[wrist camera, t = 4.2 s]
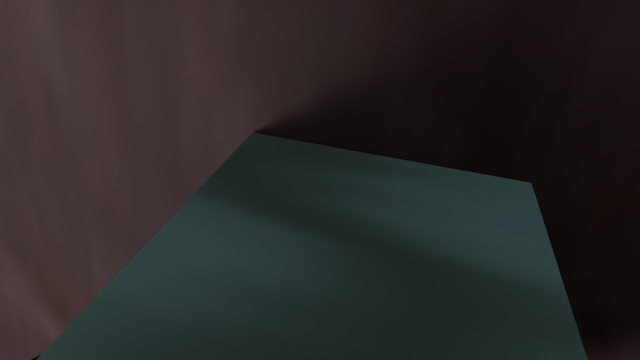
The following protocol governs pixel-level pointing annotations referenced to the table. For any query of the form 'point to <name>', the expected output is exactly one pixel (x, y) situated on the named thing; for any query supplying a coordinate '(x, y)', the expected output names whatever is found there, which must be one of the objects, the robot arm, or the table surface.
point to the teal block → (336, 268)
